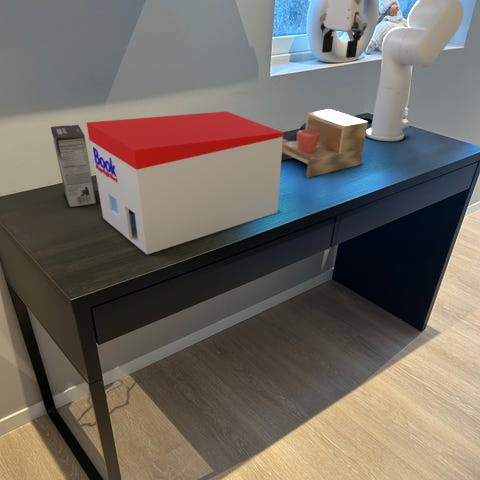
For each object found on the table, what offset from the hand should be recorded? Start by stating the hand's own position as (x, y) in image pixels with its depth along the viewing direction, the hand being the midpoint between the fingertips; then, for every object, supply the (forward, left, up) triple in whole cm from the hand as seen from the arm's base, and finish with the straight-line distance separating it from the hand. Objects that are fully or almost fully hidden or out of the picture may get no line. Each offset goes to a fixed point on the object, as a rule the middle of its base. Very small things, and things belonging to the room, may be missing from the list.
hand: (338, 54), depth 136 cm
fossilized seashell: (-4, -12, -26) cm, 29 cm away
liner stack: (+16, +8, -22) cm, 28 cm away
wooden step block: (+11, +8, -26) cm, 30 cm away
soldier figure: (+12, -8, -26) cm, 30 cm away
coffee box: (+78, -3, -26) cm, 82 cm away
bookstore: (+60, +20, -26) cm, 68 cm away
